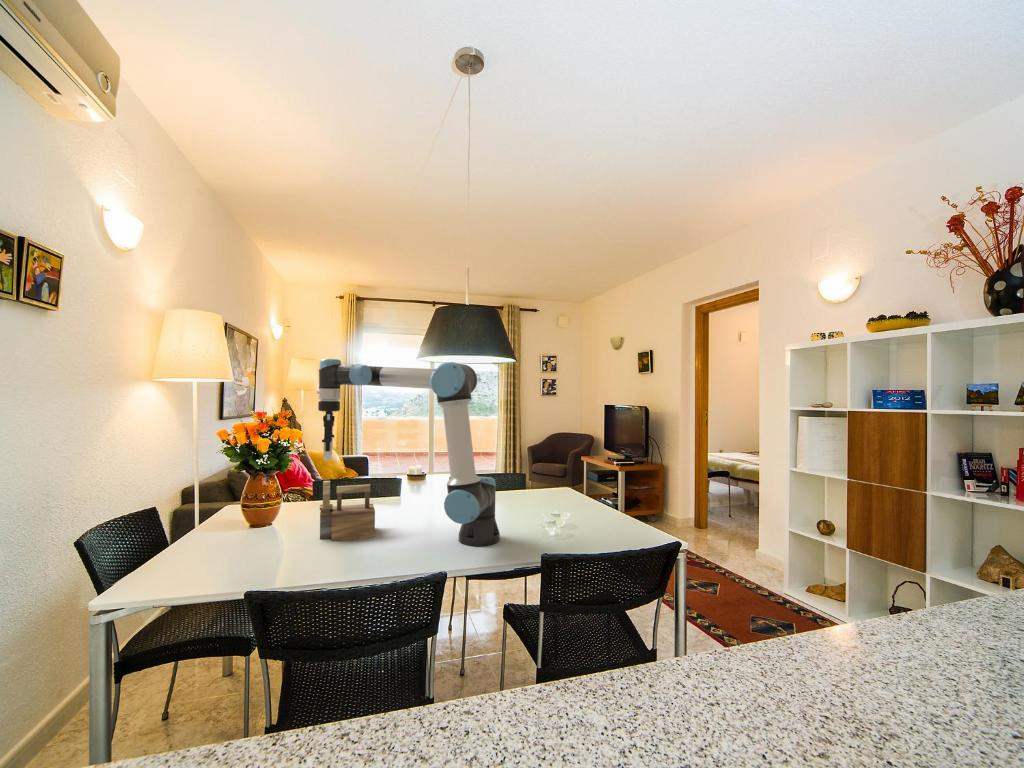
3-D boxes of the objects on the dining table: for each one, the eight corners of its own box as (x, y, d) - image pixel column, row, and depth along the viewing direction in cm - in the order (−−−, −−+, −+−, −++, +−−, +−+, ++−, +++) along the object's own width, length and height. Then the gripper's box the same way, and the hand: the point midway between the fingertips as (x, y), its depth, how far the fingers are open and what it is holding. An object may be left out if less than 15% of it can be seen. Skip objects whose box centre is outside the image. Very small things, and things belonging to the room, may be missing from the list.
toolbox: (374, 536, 174) (374, 515, 174) (319, 542, 167) (319, 519, 167) (372, 527, 185) (372, 507, 185) (320, 532, 178) (320, 511, 178)
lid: (374, 515, 174) (375, 487, 174) (319, 519, 167) (320, 491, 167) (372, 507, 185) (373, 481, 185) (320, 511, 178) (321, 484, 178)
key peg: (332, 526, 172) (332, 482, 172) (319, 527, 171) (320, 482, 171) (332, 523, 176) (333, 479, 176) (319, 524, 175) (320, 480, 175)
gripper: (320, 399, 185) (318, 453, 184) (316, 401, 161) (315, 463, 161) (340, 399, 187) (338, 452, 187) (339, 401, 164) (338, 462, 164)
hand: (327, 457), depth 174 cm, fingers open, 13 cm apart
